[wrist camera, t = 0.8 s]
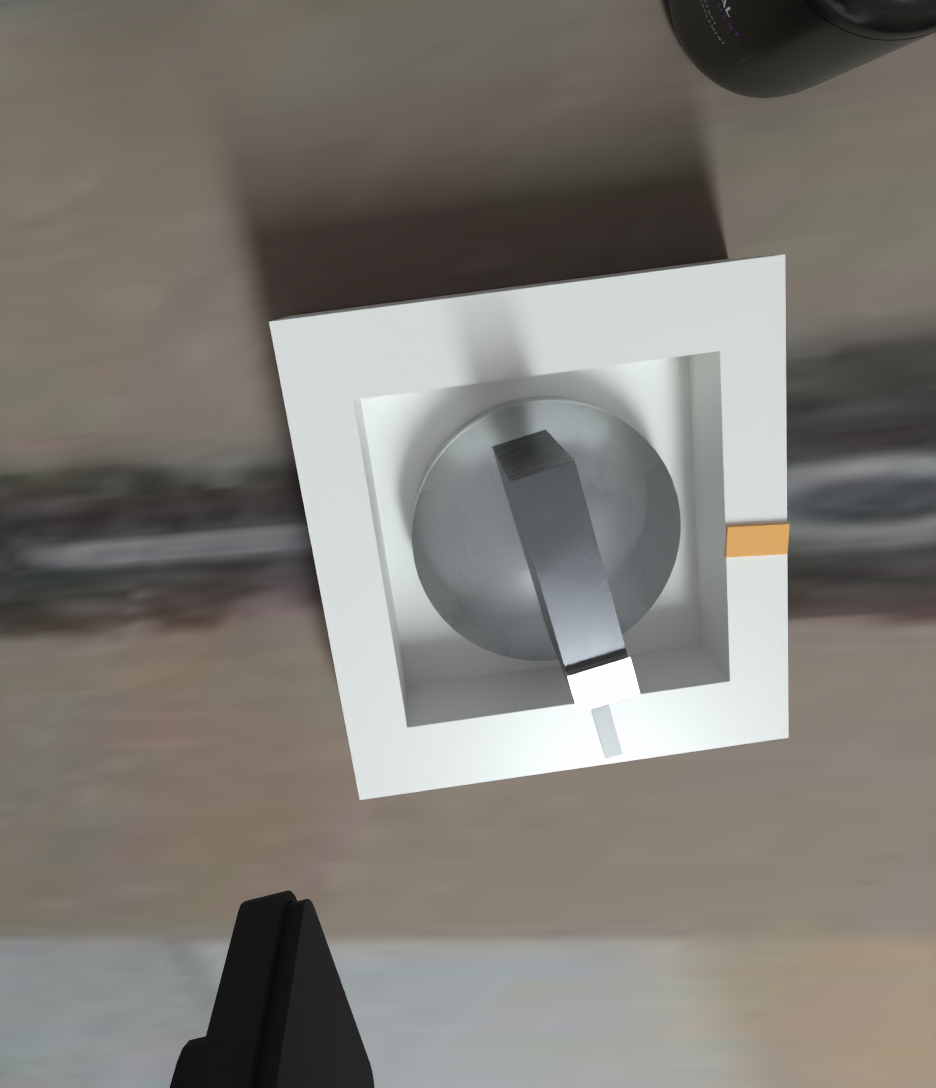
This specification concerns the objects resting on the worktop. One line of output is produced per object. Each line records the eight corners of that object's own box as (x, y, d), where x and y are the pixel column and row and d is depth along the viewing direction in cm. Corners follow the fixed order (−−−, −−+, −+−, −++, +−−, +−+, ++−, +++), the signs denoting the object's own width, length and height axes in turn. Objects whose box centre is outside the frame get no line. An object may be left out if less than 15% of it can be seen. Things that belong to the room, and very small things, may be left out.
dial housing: (729, 258, 28) (788, 254, 24) (740, 679, 33) (790, 739, 29) (290, 315, 28) (268, 322, 24) (366, 732, 33) (359, 802, 29)
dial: (376, 442, 28) (366, 490, 21) (635, 360, 28) (702, 384, 21) (456, 674, 31) (468, 778, 24) (692, 601, 30) (767, 686, 24)
